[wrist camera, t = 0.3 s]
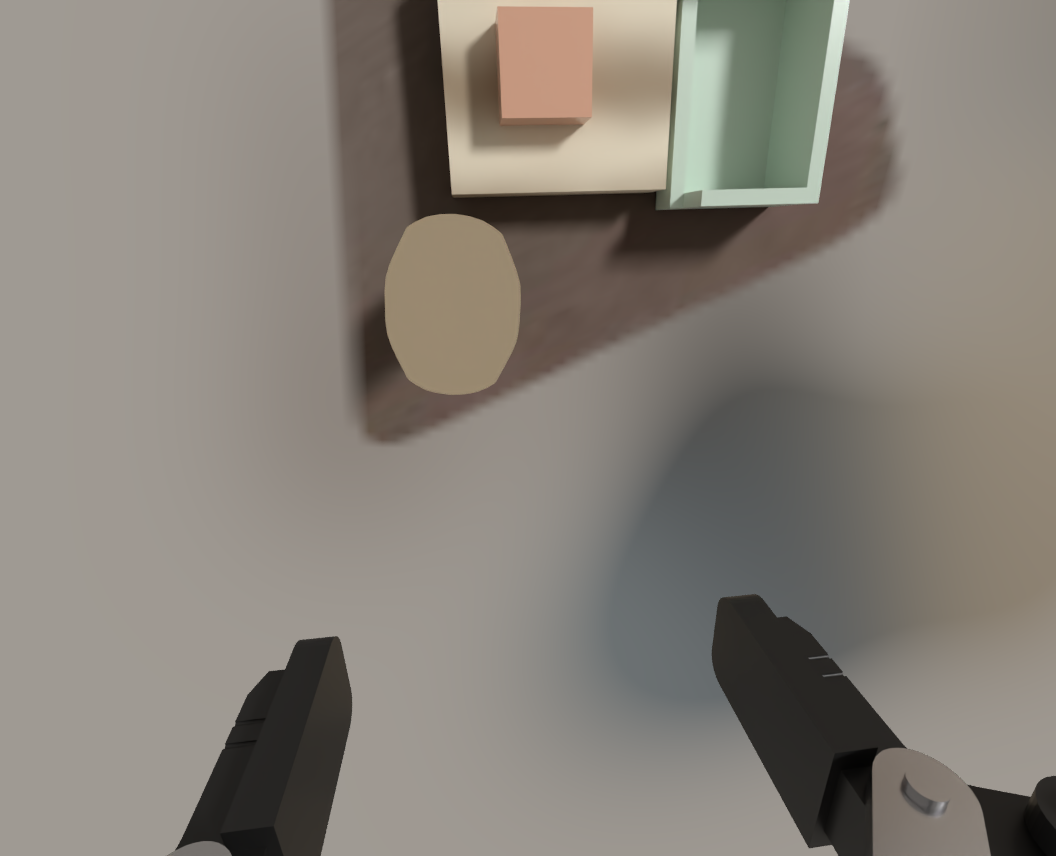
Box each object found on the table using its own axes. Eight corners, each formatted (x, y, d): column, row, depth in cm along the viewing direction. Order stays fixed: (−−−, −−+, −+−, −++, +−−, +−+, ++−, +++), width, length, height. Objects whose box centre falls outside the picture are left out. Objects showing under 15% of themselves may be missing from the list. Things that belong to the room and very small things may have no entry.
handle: (419, 325, 34) (387, 392, 20) (419, 217, 31) (382, 208, 18) (494, 329, 34) (514, 396, 20) (499, 223, 32) (525, 219, 18)
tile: (495, 22, 26) (497, 6, 24) (584, 22, 26) (593, 7, 25) (499, 125, 28) (501, 118, 26) (583, 124, 28) (591, 117, 26)
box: (668, -29, 28) (707, -79, 24) (798, -27, 29) (861, -76, 25) (655, 210, 33) (686, 206, 28) (769, 206, 33) (818, 203, 29)
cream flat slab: (436, -33, 27) (432, -62, 25) (659, -29, 28) (680, -57, 26) (453, 197, 31) (451, 194, 28) (648, 192, 32) (665, 189, 30)
